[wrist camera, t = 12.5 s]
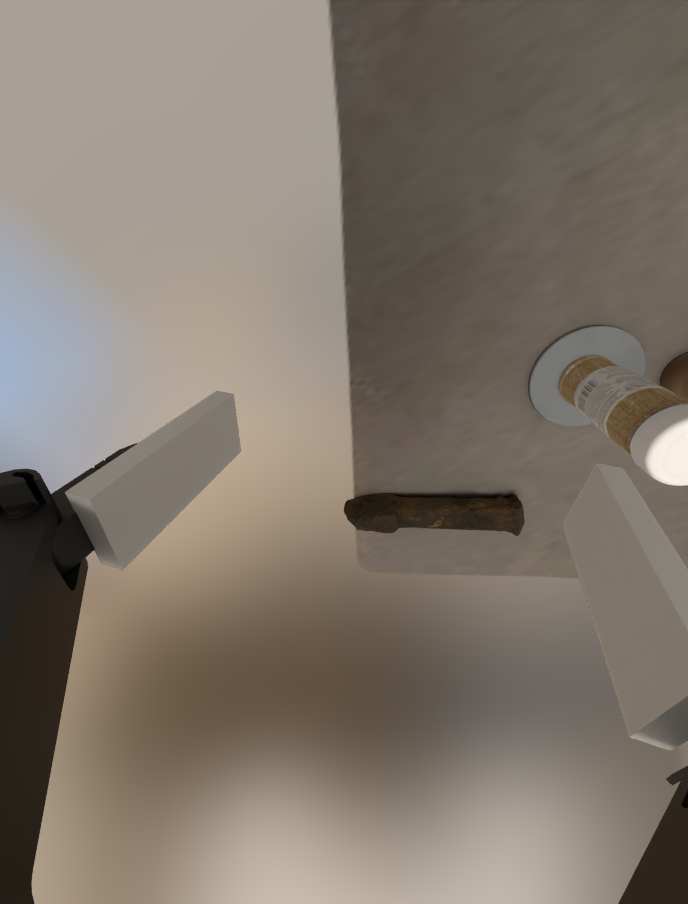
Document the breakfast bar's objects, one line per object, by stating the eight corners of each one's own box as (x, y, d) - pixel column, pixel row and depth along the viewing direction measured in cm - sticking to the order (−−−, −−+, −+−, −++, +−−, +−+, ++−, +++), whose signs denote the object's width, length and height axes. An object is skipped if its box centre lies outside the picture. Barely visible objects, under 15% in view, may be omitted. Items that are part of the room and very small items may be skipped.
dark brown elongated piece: (518, 488, 38) (532, 516, 34) (511, 517, 40) (523, 546, 36) (346, 479, 41) (340, 503, 37) (347, 507, 43) (341, 533, 39)
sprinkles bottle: (588, 411, 32) (695, 500, 20) (545, 391, 32) (628, 469, 20) (627, 366, 30) (772, 438, 18) (581, 344, 29) (698, 402, 18)
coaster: (557, 314, 29) (560, 315, 29) (665, 338, 29) (670, 340, 28) (512, 411, 34) (513, 414, 33) (604, 433, 33) (607, 435, 33)
